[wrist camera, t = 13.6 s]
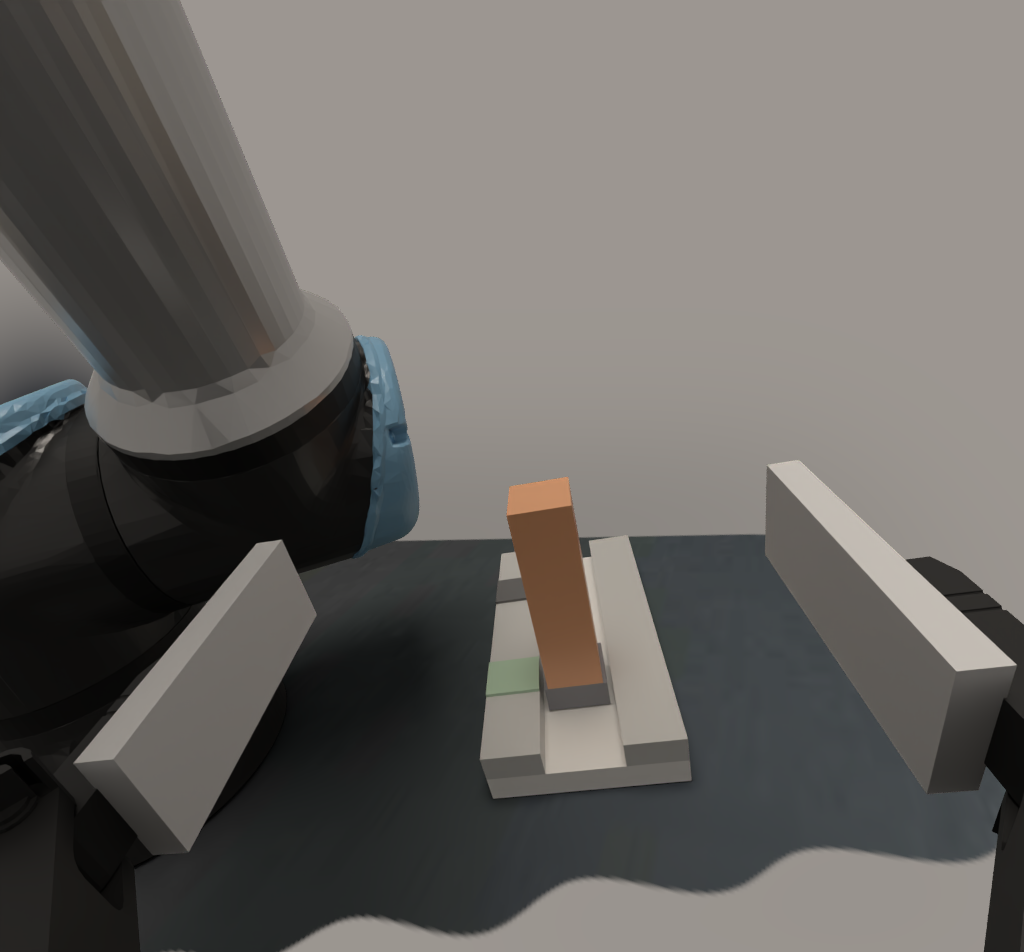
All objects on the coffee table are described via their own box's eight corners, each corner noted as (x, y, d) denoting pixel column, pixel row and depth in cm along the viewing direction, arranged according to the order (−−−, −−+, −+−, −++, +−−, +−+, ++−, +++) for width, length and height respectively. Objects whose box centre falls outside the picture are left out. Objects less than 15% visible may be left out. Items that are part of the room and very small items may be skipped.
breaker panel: (691, 780, 26) (687, 735, 24) (493, 798, 27) (478, 757, 26) (631, 566, 42) (627, 533, 41) (509, 584, 43) (501, 551, 42)
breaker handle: (610, 703, 29) (576, 504, 24) (549, 710, 29) (502, 516, 24) (604, 662, 32) (571, 476, 26) (548, 669, 32) (505, 487, 27)
